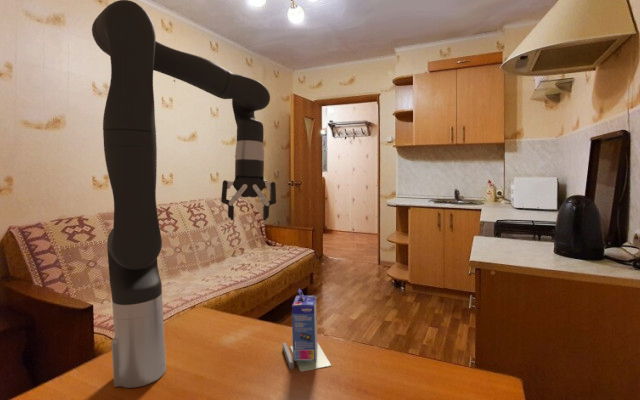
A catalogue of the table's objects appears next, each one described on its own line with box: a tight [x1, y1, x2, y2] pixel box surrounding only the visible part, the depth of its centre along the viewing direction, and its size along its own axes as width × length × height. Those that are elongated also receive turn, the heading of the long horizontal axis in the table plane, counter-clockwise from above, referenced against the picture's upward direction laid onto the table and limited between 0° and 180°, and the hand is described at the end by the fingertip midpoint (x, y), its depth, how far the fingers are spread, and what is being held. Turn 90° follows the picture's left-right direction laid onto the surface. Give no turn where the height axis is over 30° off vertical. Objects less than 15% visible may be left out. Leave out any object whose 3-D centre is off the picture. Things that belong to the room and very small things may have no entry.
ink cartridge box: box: [291, 288, 319, 362], centre depth 79 cm, size 10×6×14 cm, turn 179°
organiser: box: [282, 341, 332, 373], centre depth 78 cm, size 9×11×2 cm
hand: (248, 220), depth 90 cm, fingers open, 8 cm apart
